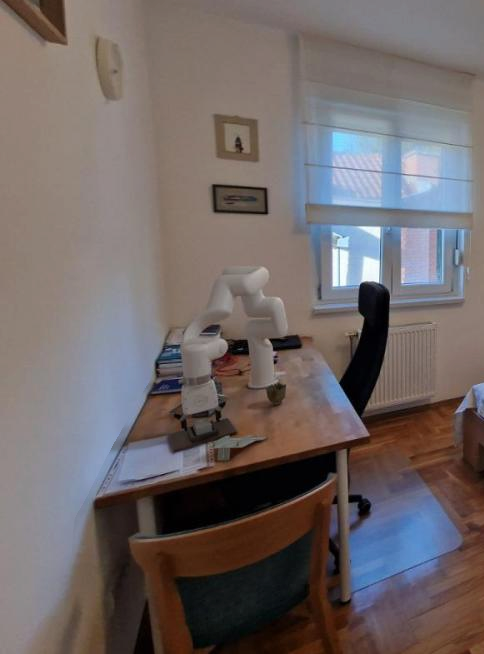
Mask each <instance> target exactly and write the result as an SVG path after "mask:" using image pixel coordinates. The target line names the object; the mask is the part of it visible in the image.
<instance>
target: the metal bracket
mask: <svg viewBox="0 0 484 654" xmlns="http://www.w3.org/2000/svg"><path fill="white" fill-rule="evenodd" d="M266 439H267V436H264V437H263V436H258V437H253V435H252V434H248V435H246V436H244V437H231V436H225V437H223V438H221V439H218V440H215V441H212V445H210V446H207V447H206V448H205V450H207V449H211V450H212V449H217V461H219V462H220V461H229V460H231V458H230V457H231V449H239V448H244V447H246V446H248V445H250V444H252V443H254V442H256V441H263V440H266Z"/></svg>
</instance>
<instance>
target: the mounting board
mask: <svg viewBox="0 0 484 654" xmlns="http://www.w3.org/2000/svg"><path fill="white" fill-rule="evenodd" d="M209 421H210V423H211V424H212V431H211V432H208V433H204V434H201V435H197V436H196V435H195V433H194V431H193V425H190V426H187V431H185V430H184V429H181V430H179V431H174V432H172V433H168V439H169V443H170V445H171V448H172V453H174V454H175V453H178V452H181V451H185V450H188V449H192V448H196V447H198V446H200V445H201V446H202V445H205V444H208V443H211V442H212V443H213V442H214V441H217V440H219V439H221V438H223V437H225V436H230V437H231V436H235V435H237V434H238V432H237V430H236V428H235V427H234V425H233V423H232V422H231V421H230V419H229V418H228V417H226V418H221V419H220V422H217V421H216V420H215V421H214V420H213V419H212V420H209Z"/></svg>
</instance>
